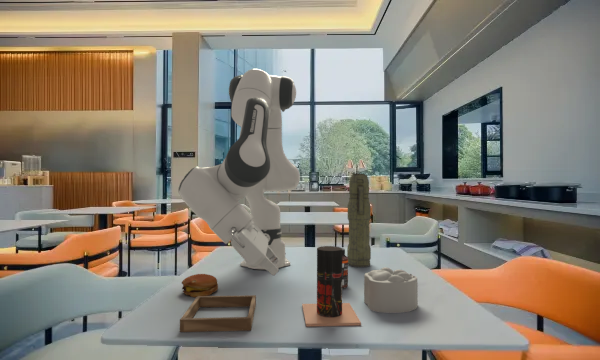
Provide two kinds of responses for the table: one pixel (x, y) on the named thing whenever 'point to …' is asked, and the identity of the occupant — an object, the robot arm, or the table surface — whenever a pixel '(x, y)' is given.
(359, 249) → the olive green pillar
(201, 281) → the burger
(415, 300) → the lumpy-topped squat cylinder
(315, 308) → the coaster
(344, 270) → the supplement bottle
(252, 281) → the table surface
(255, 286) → the table surface
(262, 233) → the robot arm
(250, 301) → the corral
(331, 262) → the deodorant
